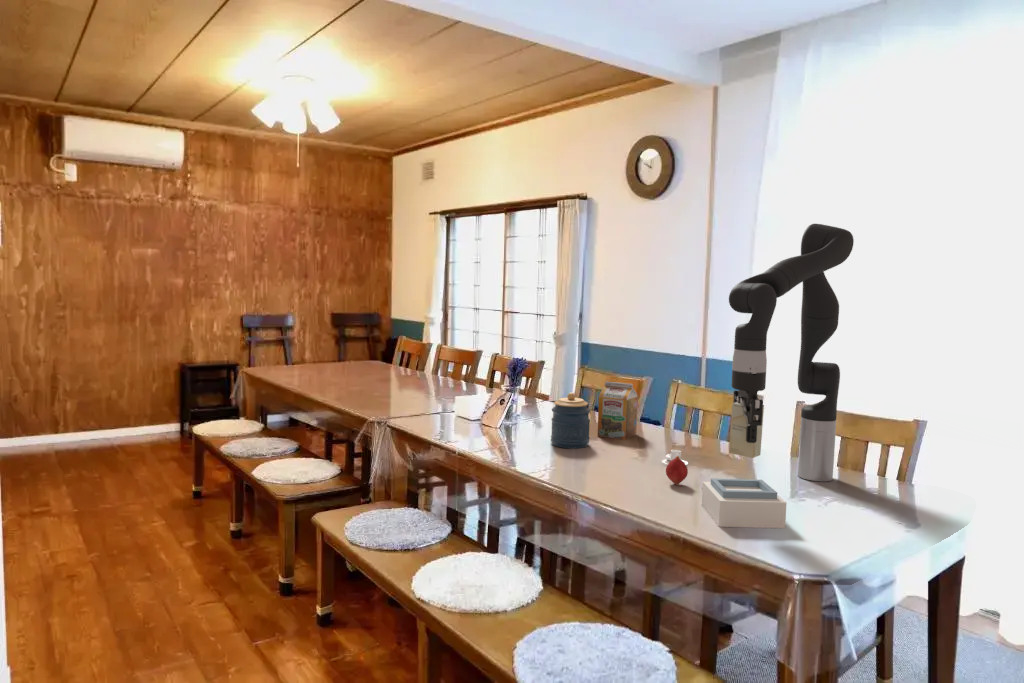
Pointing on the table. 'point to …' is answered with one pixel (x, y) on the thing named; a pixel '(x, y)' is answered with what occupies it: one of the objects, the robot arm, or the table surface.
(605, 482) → the table surface
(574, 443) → the canister
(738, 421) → the skincare box
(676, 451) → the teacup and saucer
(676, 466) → the onion
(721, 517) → the frame
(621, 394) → the milk carton
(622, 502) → the table surface
